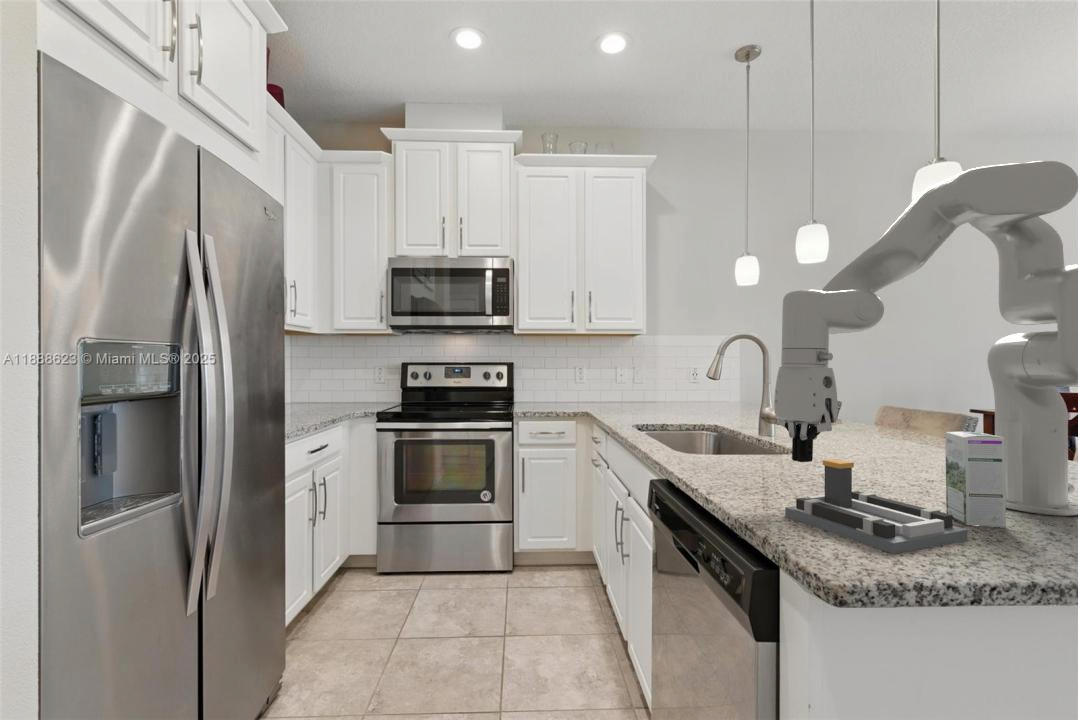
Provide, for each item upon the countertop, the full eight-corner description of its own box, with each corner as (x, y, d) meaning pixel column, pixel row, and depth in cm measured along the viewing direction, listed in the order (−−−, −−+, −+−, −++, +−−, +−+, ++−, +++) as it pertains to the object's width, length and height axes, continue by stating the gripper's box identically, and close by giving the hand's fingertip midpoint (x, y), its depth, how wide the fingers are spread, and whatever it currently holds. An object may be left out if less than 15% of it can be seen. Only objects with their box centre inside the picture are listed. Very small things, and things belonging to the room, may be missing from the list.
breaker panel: (852, 507, 91) (852, 489, 91) (967, 539, 74) (967, 518, 74) (785, 516, 85) (785, 498, 85) (893, 554, 68) (893, 531, 68)
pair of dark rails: (858, 501, 89) (858, 489, 89) (954, 526, 75) (954, 513, 75) (794, 509, 84) (794, 497, 84) (884, 539, 70) (884, 524, 70)
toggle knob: (836, 503, 87) (836, 459, 87) (853, 508, 84) (853, 462, 84) (822, 505, 85) (822, 460, 85) (839, 510, 82) (839, 463, 82)
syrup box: (1008, 528, 79) (1007, 436, 79) (964, 526, 80) (964, 435, 80) (983, 517, 85) (983, 431, 85) (943, 515, 86) (943, 430, 86)
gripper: (858, 360, 85) (856, 468, 85) (786, 360, 99) (784, 453, 99) (826, 358, 82) (823, 470, 82) (756, 358, 96) (754, 454, 96)
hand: (802, 460), depth 91 cm, fingers closed
